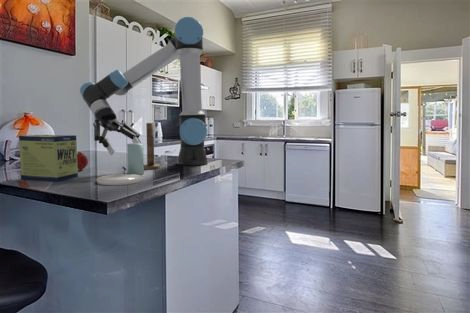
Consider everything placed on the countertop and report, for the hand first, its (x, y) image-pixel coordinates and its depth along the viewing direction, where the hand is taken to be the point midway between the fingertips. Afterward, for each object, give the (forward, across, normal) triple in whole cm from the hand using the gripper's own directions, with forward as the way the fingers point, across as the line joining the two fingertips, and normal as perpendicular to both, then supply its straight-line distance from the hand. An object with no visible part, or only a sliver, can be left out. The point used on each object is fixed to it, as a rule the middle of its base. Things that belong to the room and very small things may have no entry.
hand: (128, 151), depth 125 cm
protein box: (-4, +23, -17) cm, 29 cm away
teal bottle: (+9, -1, -4) cm, 9 cm away
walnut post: (+3, -16, -9) cm, 18 cm away
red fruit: (-10, +6, -23) cm, 26 cm away
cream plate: (+14, +12, +1) cm, 18 cm away
